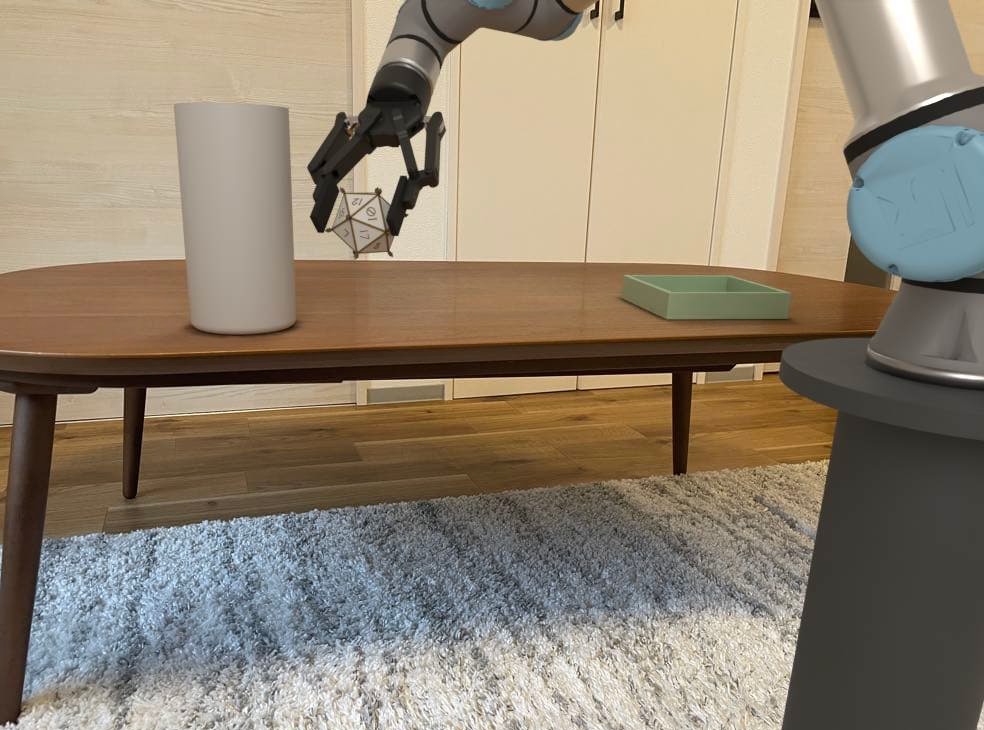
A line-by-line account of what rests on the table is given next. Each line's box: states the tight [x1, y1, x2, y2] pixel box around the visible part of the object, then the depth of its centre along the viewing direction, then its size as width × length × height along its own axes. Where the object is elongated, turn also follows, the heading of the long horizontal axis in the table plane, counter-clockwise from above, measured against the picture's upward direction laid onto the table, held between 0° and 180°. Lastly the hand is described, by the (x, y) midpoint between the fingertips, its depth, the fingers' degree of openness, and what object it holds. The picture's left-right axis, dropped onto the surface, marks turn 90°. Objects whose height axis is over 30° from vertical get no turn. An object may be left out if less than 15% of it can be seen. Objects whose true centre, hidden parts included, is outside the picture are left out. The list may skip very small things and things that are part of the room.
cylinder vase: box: [173, 101, 297, 336], centre depth 91 cm, size 12×12×25 cm
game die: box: [324, 186, 410, 260], centre depth 90 cm, size 9×8×10 cm
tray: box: [621, 274, 793, 320], centre depth 113 cm, size 18×18×4 cm
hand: (353, 226), depth 87 cm, fingers closed on game die, 8 cm apart
